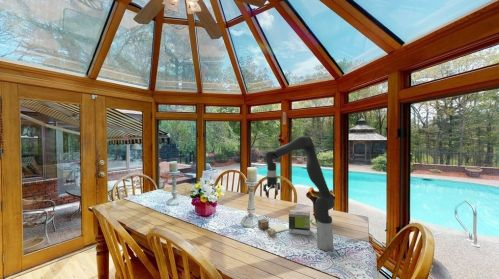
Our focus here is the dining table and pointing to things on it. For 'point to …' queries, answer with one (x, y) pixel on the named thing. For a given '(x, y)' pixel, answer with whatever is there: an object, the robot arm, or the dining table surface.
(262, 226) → the walnut cube
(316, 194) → the decorative vase
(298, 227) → the tea box
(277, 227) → the plate
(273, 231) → the maple block
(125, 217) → the dining table surface
